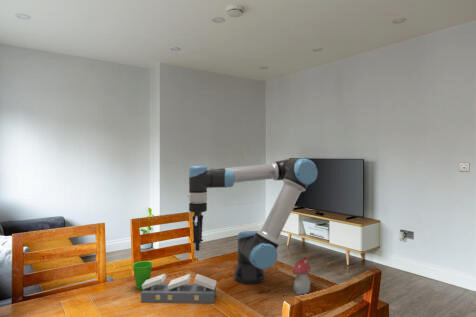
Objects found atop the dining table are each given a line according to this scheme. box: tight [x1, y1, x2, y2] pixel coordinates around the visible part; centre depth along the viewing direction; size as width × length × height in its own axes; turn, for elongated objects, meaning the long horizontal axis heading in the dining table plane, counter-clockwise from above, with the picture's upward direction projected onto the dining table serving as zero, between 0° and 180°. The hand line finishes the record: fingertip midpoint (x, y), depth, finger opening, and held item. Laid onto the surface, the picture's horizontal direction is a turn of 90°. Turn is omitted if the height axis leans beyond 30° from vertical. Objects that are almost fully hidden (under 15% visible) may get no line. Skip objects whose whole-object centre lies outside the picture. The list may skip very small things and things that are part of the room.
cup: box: [132, 260, 154, 291], centre depth 143 cm, size 9×9×11 cm
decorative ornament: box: [292, 256, 312, 296], centre depth 139 cm, size 9×7×15 cm
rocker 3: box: [193, 273, 218, 290], centre depth 134 cm, size 9×6×2 cm, turn 89°
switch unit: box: [140, 282, 217, 304], centre depth 134 cm, size 30×10×5 cm, turn 89°
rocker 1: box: [142, 273, 167, 289], centre depth 134 cm, size 9×6×2 cm, turn 88°
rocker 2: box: [168, 273, 192, 290], centre depth 134 cm, size 9×6×2 cm, turn 89°
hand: (197, 257), depth 134 cm, fingers closed
